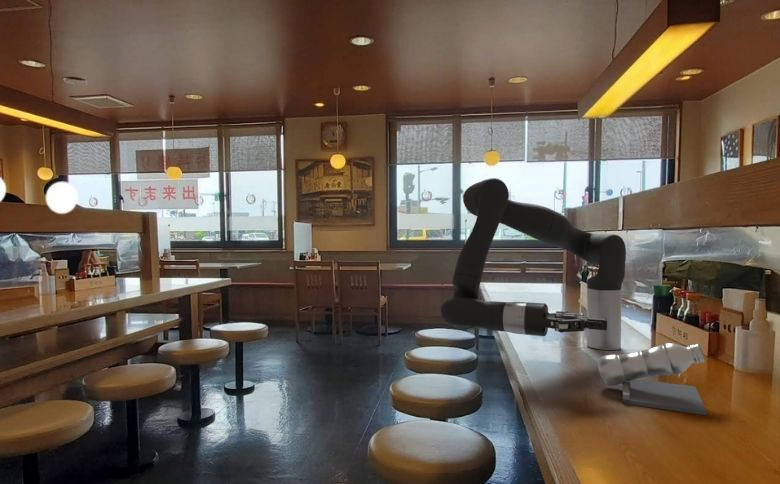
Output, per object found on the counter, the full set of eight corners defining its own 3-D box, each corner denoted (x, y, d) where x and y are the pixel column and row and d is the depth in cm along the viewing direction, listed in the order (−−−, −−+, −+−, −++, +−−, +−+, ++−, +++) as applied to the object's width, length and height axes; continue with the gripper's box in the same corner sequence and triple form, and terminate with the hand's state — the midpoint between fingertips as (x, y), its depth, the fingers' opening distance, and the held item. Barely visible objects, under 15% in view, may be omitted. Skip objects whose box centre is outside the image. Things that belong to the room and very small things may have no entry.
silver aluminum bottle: (603, 380, 105) (703, 361, 97) (604, 392, 99) (711, 373, 91) (594, 353, 105) (693, 332, 97) (594, 363, 99) (700, 342, 91)
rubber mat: (622, 381, 106) (622, 373, 106) (695, 390, 100) (695, 382, 100) (622, 403, 93) (622, 394, 93) (706, 415, 87) (706, 405, 87)
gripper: (520, 306, 103) (606, 312, 95) (530, 298, 115) (608, 303, 107) (519, 340, 103) (606, 349, 95) (530, 328, 115) (607, 335, 107)
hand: (607, 324), depth 101 cm, fingers closed
